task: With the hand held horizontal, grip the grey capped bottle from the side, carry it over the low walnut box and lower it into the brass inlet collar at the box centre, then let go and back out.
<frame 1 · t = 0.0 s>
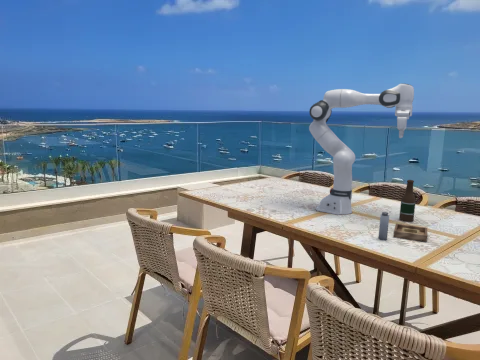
hand: (401, 137, 208), 48 cm above the table, tool pointing down, fingers open, 8 cm apart
walnut box: (410, 235, 185), on the table
grey capped bottle: (382, 238, 179), on the table
beer bottle: (406, 220, 213), on the table
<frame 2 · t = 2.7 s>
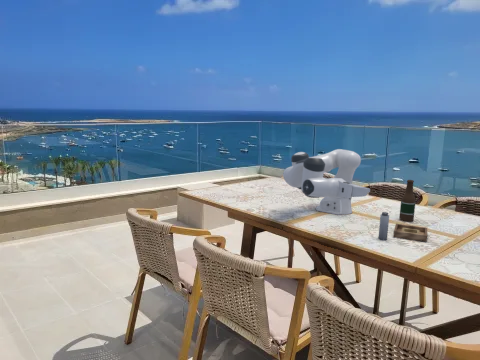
hand: (362, 188, 170), 26 cm above the table, tool horizontal, fingers open, 8 cm apart
nothing on the table moved.
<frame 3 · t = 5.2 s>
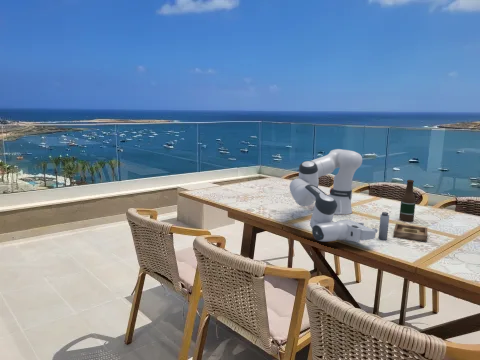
hand: (369, 227, 174), 7 cm above the table, tool horizontal, fingers open, 8 cm apart
nothing on the table moved.
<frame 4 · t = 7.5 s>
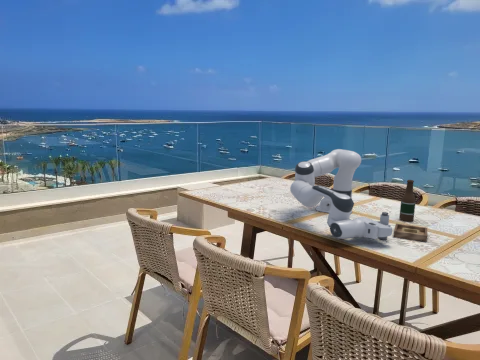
hand: (385, 224, 178), 7 cm above the table, tool horizontal, fingers closed on grey capped bottle, 4 cm apart
grey capped bottle: (382, 238, 179), on the table, touching gripper
everything else where it was.
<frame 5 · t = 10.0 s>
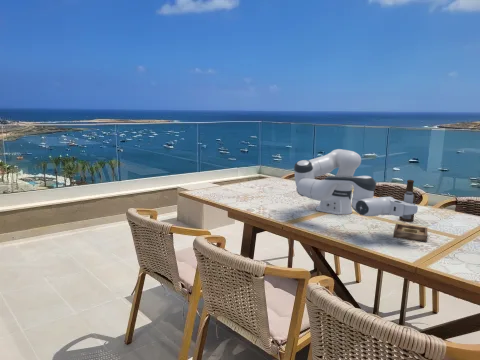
hand: (409, 204, 180), 17 cm above the table, tool horizontal, fingers closed on grey capped bottle, 4 cm apart
grey capped bottle: (406, 218, 181), point 10 cm above the table, touching gripper
everything else where it was.
when the fingers open (9 cm above the table, at t = 12.7 s): grey capped bottle drops 1 cm, resting on walnut box.
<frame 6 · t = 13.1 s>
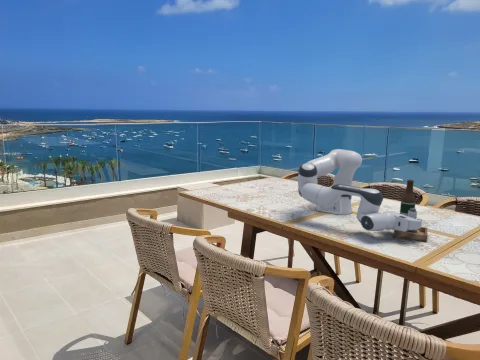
hand: (413, 218, 184), 9 cm above the table, tool horizontal, fingers open, 8 cm apart
grey capped bottle: (410, 233, 185), point 1 cm above the table, touching walnut box
everything else where it was.
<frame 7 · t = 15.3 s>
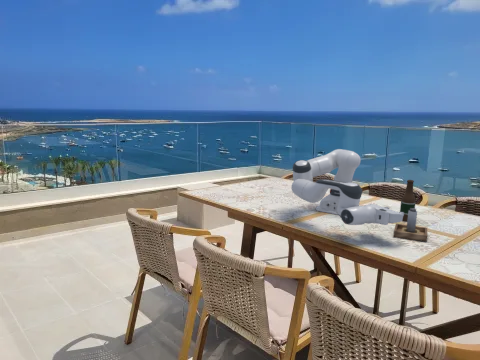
hand: (395, 211, 179), 13 cm above the table, tool horizontal, fingers open, 8 cm apart
nothing on the table moved.
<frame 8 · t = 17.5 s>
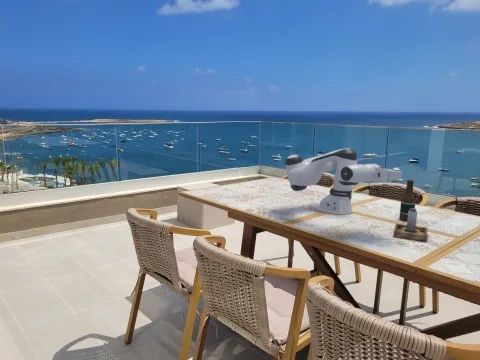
hand: (394, 172, 183), 32 cm above the table, tool horizontal, fingers open, 8 cm apart
nothing on the table moved.
at the end: grey capped bottle 0.1 cm off-centre on the walnut box, point 0.8 cm above the walnut box's base; grey capped bottle tilted 0°; the gripper is holding nothing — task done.
